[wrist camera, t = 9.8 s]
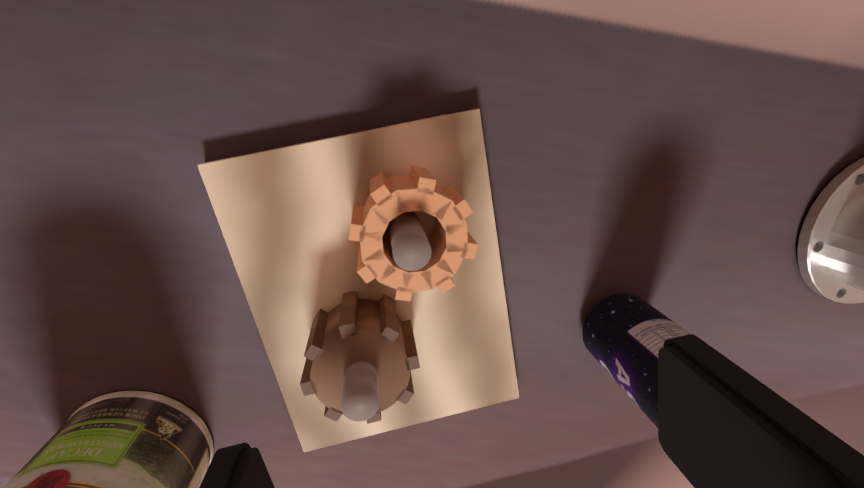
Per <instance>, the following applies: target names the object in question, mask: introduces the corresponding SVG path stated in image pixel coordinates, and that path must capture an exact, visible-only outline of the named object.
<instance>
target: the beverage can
mask: <svg viewBox="0 0 864 488" xmlns="http://www.w3.org/2000/svg"><path fill="white" fill-rule="evenodd" d="M688 334H690V333H688V332H687V331H686V330H684V329H683V328H681V327H680V326H679V325H677V324H676V323H674V322H673V321H672V320H670V319H669V318H667V317H666V316H665V315H663V314H662V313H660V312H659V311H658V310H656V309H655V308H653V307H652V306H651V305H649V304H648V303H646V302H645V301H644V300H642V299H641V298H639V297H637V296H635V295H631V294H618V295H614V296H611V297H609V298H607V299H605V300H603V301H601V302H600V303H599V304H597V305H596V306H595V307H594V308H593V309H592V311H591V312H590V313H589V315H588V316H587V318H586V320H585V323H584V326H583V341H584V344H585V346H586V348H587V349H588V350H589V351H590V353H591V354H592V355H593V356H594V357H595V358H596V359H597V360H598V362H599V363H600V364H601V365H602V366H603V367H604V368H605V369H606V370H607V372H608V373H609V374H610V375H611V376H612V377H613V378H614V379H615V381H616V382H617V383H618V384H619V385H620V386H621V387H622V388H623V390H624V391H625V392H626V393H627V394H628V395H629V396H630V397H631V398H632V400H633V401H634V402H635V403H636V404H637V405H638V406H639V407H640V409H641V410H642V411H643V412H644V413H645V414H646V415H647V416H648V418H649V419H650V420H651V421H652V422H653V423H654V424H655V425H656V426H657V428H658V352H659V349H660V348H662V347H663V344H664V342H665V341H666V340H668V339H671V338H675V337H680V336H684V335H688Z"/></svg>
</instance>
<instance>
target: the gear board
mask: <svg viewBox="0 0 864 488" xmlns="http://www.w3.org/2000/svg"><path fill="white" fill-rule="evenodd" d="M197 166H198V168H199V171H200V174H201V177H202V179H203V182H204V185H205V187H206V190H207V193H208V195H209V198H210V201H211V203H212V206H213V209H214V212H215V214H216V217H217V220H218V222H219V225H220V228H221V230H222V233H223V236H224V238H225V241H226V244H227V247H228V249H229V252H230V255H231V257H232V260H233V263H234V265H235V268H236V271H237V273H238V276H239V279H240V282H241V284H242V287H243V290H244V292H245V295H246V298H247V300H248V303H249V306H250V308H251V311H252V314H253V317H254V319H255V322H256V325H257V327H258V330H259V333H260V335H261V338H262V341H263V343H264V346H265V349H266V352H267V354H268V357H269V360H270V362H271V365H272V368H273V370H274V373H275V376H276V378H277V381H278V384H279V387H280V389H281V392H282V395H283V397H284V400H285V403H286V405H287V408H288V411H289V413H290V416H291V419H292V422H293V424H294V427H295V430H296V432H297V435H298V438H299V440H300V443H301V446H302V448H303V451H304V452H307V451H311V450H315V449H319V448H323V447H327V446H331V445H335V444H339V443H343V442H347V441H351V440H355V439H359V438H363V437H367V436H371V435H374V434H378V433H382V432H386V431H390V430H394V429H398V428H402V427H406V426H410V425H414V424H418V423H422V422H426V421H430V420H434V419H437V418H441V417H445V416H449V415H453V414H457V413H461V412H465V411H469V410H473V409H477V408H481V407H485V406H489V405H493V404H497V403H500V402H504V401H508V400H512V399H516V398H519V392H518V385H517V378H516V371H515V363H514V356H513V349H512V341H511V334H510V327H509V320H508V312H507V305H506V298H505V291H504V283H503V276H502V269H501V262H500V254H499V247H498V240H497V232H496V225H495V218H494V211H493V203H492V196H491V189H490V182H489V174H488V167H487V160H486V153H485V145H484V138H483V131H482V124H481V116H480V109H471V110H466V111H461V112H456V113H451V114H446V115H441V116H436V117H431V118H426V119H421V120H416V121H411V122H405V123H400V124H395V125H390V126H385V127H380V128H375V129H370V130H365V131H360V132H355V133H350V134H345V135H340V136H335V137H330V138H325V139H320V140H315V141H310V142H305V143H300V144H295V145H290V146H285V147H280V148H275V149H270V150H265V151H260V152H255V153H250V154H245V155H240V156H235V157H230V158H225V159H220V160H215V161H210V162H205V163H202V164H199V165H197ZM411 166H417V167H422V168H426V169H427V170H428V171H429V173H430V174H431V175H432V176H433V177H434V178H435V179H436V184H437V185H439V186H440V187H441V188H442V189H444V188H445V187H447V186H448V185H451V186H452V187H453V188H454V189H455V190H456V191H457V192H458V193H459V194H460V195H461V196H462V197H463V198H464V199H465V201H466V202H467V204H468V205H469V207H470V208H471V210H472V212H473V213H472V214H470V215H469V216H467V217H466V218H464V219H465V221H466V223H467V231H468V232H469V233H470V235H471V236H472V237H473V239H474V240H475V241H476V242H477V244H478V247H477V251H476V255H475V259H469V258H464V259H463V261H462V262H461V264H460V266H459V268H458V270H457V272H456V274H455V275H454V276H452V279H453V282H454V284H455V286H454V287H453V288H451V289H450V290H448V291H446V292H445V293H443V294H442V293H441V291H440V290H439V289H438V287H435V288H434V289H432V290H425V291H416V292H412V297H411V302H410V301H402V300H395V295H394V288H391V287H389V286H386V285H384V284H382V283H379V282H378V281H377V279H376V278H375V279H373V280H372V281H370V282H369V283H367V284H366V283H365V281H364V280H363V279H362V278H361V276H360V275H359V274H358V273H357V263H358V250H359V245H360V242H359V241H352V240H348V239H349V233H350V226H351V220H352V213H353V207H354V205H358V206H364V205H365V203H366V200H367V198H368V196H369V194H370V179H372V178H373V177H375V176H376V175H378V174H379V173H380V172H382V173H383V174H384V175H385V177H386V178H387V179H389V178H390V177H392V176H405V175H410V171H411ZM434 226H435V220H434V216H432V215H430V214H428V213H426V212H424V211H410V212H403V213H402V214H400V215H399V216H397V217H396V218H394V219H393V220H391V221H390V222H389V224H388V226H387V228H386V230H385V232H384V234H385V236H386V237H387V238H388V240H389V241H390V242H391V246H392V253H393V258H394V261H395V263H396V264H397V265H398V266H399V267H400V268H402V269H404V270H407V271H416V270H419V269H421V268H423V267H424V266H425V265H426V264H427V263H428V262H429V260H430V258H431V246H430V244H429V242H428V239H427V238H429V236H430V234H431V232H432V230H433V228H434Z"/></svg>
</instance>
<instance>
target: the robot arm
mask: <svg viewBox="0 0 864 488" xmlns="http://www.w3.org/2000/svg"><path fill="white" fill-rule="evenodd" d="M797 252H798V265H799V269H800V273H801V275H802V277H803V279H804V281H805V283H806V284H807V285H808V286H809V287H810V288H811V289H812V290H813V291H814V292H816V293H818V294H819V295H821V296H823V297H825V298H828V299H830V300H833V301H835V302H840V303H847V304H852V303H862V302H864V157H863V158H861V159H859V160H858V161H856V162H854V163H853V164H851V165H850V166H848V167H847V168H845V169H844V170H843V171H842V172H841V173H839V174H838V175H837V176H836V177H835V178H833V179H832V181H831V182H830V183H829V184H828V185H827V186H826V187H825V188H824V189H823V190H822V192H821V193H820V194H819V196H818V197H817V199H816V200H815V202H814V203H813V205H812V206H811V208H810V210H809V212H808V214H807V216H806V218H805V220H804V223H803V226H802V229H801V232H800V235H799V242H798V248H797ZM658 436H659V441H660V444H661V446H662V448H663V450H664V451H665V453H666V454H667V455H668V457H669V458H670V459H671V460H672V461H673V463H674V464H675V465H676V466H677V467H678V468H679V470H680V471H681V472H682V473H683V474H684V476H685V477H686V478H687V479H688V480H689V482H690V483H691V484H692V485H693V486H694V487H695V488H864V456H863V455H862V454H860V453H859V452H858V451H856V450H855V449H853V448H852V447H850V446H849V445H848V444H846V443H845V442H844V441H842V440H841V439H839V438H838V437H837V436H835V435H834V434H832V433H831V432H829V431H828V430H827V429H825V428H824V427H823V426H821V425H820V424H818V423H817V422H816V421H814V420H813V419H811V418H810V417H809V416H807V415H806V414H804V413H803V412H802V411H800V410H799V409H797V408H796V407H795V406H793V405H792V404H790V403H789V402H788V401H786V400H785V399H783V398H782V397H781V396H779V395H778V394H776V393H775V392H774V391H772V390H771V389H769V388H768V387H767V386H765V385H764V384H762V383H761V382H760V381H758V380H757V379H755V378H754V377H753V376H751V375H750V374H748V373H747V372H746V371H744V370H743V369H741V368H740V367H739V366H737V365H736V364H734V363H733V362H732V361H730V360H729V359H727V358H726V357H725V356H723V355H722V354H720V353H719V352H718V351H716V350H715V349H713V348H712V347H711V346H709V345H708V344H706V343H705V342H704V341H702V340H701V339H699V338H698V337H697V336H695V335H692V334H688V335H684V336H680V337H675V338H671V339H668V340H666V341H665V342H664V344H663V347H662V348H660V349H659V352H658ZM199 488H274V485H273V483H272V480H271V478H270V476H269V473H268V471H267V468H266V466H265V464H264V461H263V459H262V456H261V454H260V452H259V450H258V449H257V448H251V447H250V446H249V444H247V443H241V444H237V445H233V446H229V447H225V448H221V449H219V450H217V451H216V453H215V454H214V456H213V458H212V461H211V463H210V465H209V467H208V469H207V472H206V474H205V476H204V478H203V481H202V483H201V485H200V487H199Z"/></svg>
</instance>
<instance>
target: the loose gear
mask: <svg viewBox="0 0 864 488" xmlns="http://www.w3.org/2000/svg"><path fill="white" fill-rule="evenodd" d="M410 211H424V212H426V213H428V214H430V215H432V216H434V220H435V226H434V228H433V230H432V232H431V234H430V236H429V238H427V239H428V242H429V244H430V246H431V258H430V260H429V262H428V263H427V264H426V265H425V266H424V267H423V268H421V269H419V270H416V271H407V270H404V269H402V268H400V267H399V266H398V265H397V264H396V263H395V261H394V258H393V253H392V246H391V242H390V241H389V240H388V238H387V237H386V236H385V234H384V232H385V230H386V228H387V226H388V224H389V222H390V221H391V220H393V219H394V218H396V217H397V216H399V215H400V214H402V213H403V212H410ZM472 213H473V212H472V210H471V208H470V207H469V205H468V204H467V202H466V201H465V199H464V198H463V197H462V196H461V195H460V194H459V193H458V192H457V191H456V190H455V189H454V188H453V187H452V186H451V185H448V186H447V187H445V188H444V189H442V188H441V187H440V186H439V185H437V184H436V179H435V178H434V177H433V176H432V175H431V174H430V173H429V171H428V170H427V169H426V168H422V167H417V166H411V171H410V175H405V176H392V177H390V178H389V179H387V178H386V177H385V175H384V174H383V173H382V172H380V173H379V174H378V175H376V176H375V177H373V178H372V179H370V194H369V196H368V198H367V200H366V203H365V205H364V206H358V205H354V207H353V213H352V220H351V226H350V233H349V239H348V240H352V241H359V242H360V245H359V250H358V263H357V273H358V274H359V275H360V276H361V278H362V279H363V280H364V281H365V283H366V284H367V283H369V282H370V281H372V280H373V279H375V278H376V279H377V281H378V282H379V283H382V284H384V285H386V286H389V287H391V288H394V295H395V300H402V301H410V302H411V297H412V292H416V291H425V290H432V289H434V288H435V287H438V289H439V290H440V291H441V293H442V294H443V293H445V292H446V291H448V290H450V289H451V288H453V287H454V286H455V284H454V282H453V279H452V276H454V275H455V274H456V272H457V270H458V268H459V266H460V264H461V262H462V261H463V259H464V258H469V259H475V255H476V251H477V247H478V244H477V242H476V241H475V240H474V239H473V237H472V236H471V235H470V233H469V232H468V231H467V223H466V221H465V219H464V218H466V217H467V216H469V215H470V214H472Z"/></svg>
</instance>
